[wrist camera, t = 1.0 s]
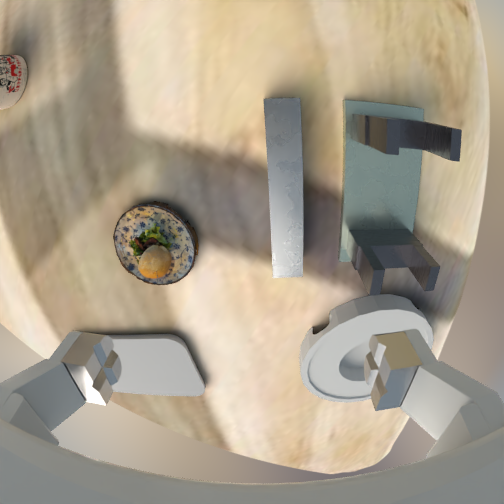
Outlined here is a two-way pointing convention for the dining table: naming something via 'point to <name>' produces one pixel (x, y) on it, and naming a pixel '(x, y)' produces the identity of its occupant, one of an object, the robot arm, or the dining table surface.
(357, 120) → the bracket stand
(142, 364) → the tablet
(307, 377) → the ashtray
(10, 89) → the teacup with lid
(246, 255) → the dining table surface
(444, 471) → the robot arm
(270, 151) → the rail
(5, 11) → the dining table surface
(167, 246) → the burger
